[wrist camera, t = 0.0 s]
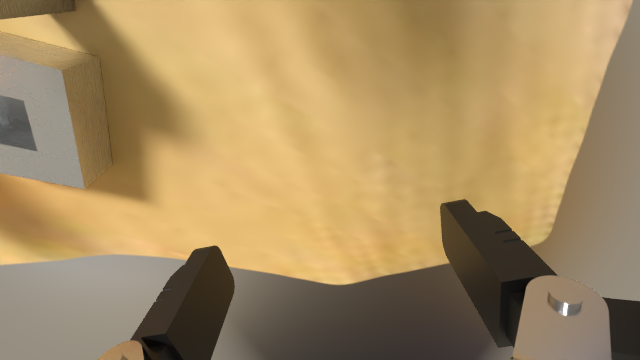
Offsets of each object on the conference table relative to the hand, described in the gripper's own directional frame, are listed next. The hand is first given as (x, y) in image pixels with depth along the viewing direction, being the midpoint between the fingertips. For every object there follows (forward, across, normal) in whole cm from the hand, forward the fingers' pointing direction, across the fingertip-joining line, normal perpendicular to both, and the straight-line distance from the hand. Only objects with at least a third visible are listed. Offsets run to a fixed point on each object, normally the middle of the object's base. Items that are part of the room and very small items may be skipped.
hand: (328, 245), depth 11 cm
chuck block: (+22, +28, -7) cm, 36 cm away
